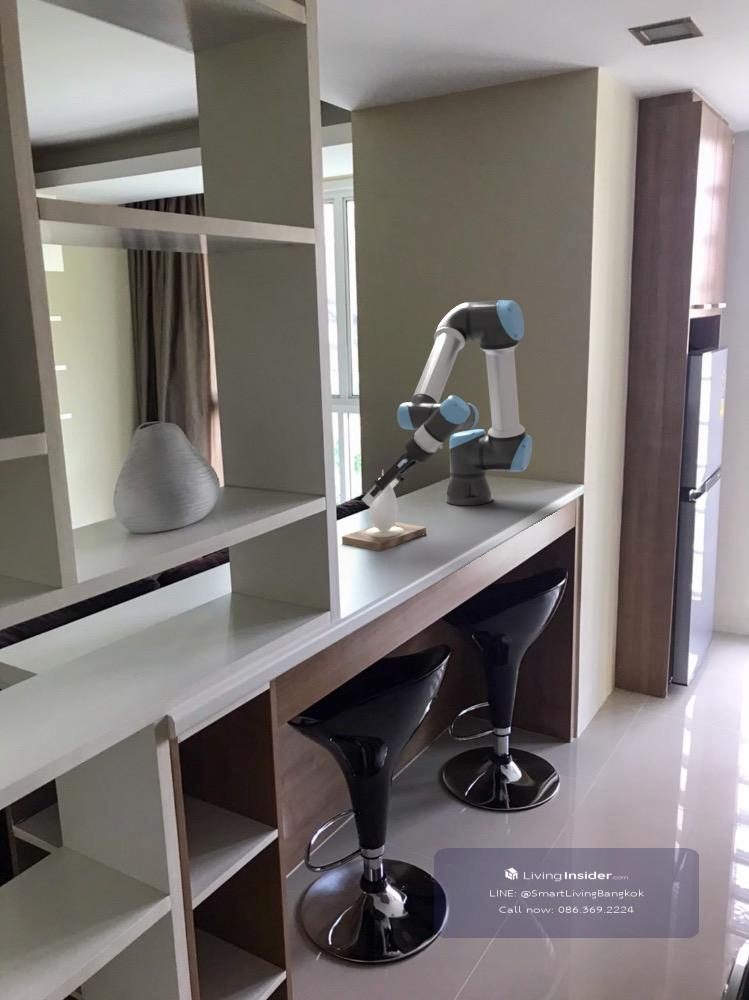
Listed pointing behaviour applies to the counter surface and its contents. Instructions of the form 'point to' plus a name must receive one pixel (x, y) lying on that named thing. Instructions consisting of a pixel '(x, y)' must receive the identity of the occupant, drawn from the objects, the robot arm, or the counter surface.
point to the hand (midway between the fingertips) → (373, 497)
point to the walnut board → (383, 536)
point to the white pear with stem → (384, 509)
